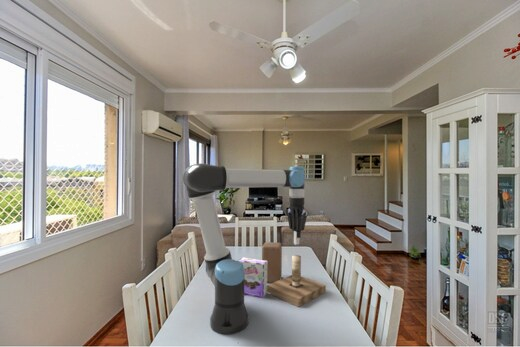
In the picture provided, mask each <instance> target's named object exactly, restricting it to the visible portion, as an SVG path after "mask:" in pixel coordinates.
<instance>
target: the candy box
mask: <svg viewBox="0 0 520 347" xmlns="http://www.w3.org/2000/svg"><path fill="white" fill-rule="evenodd" d="M238 261H239V262H241V263H242V264H243V266H244V271H245V279H244V295H245V296H250V297H251V296H252V297H257V298H262V299H264V298H265V297H266V295H268V292H267V285H268V282H267V263H268V261H264V260H262V259H255V258H250V257H249V258H248V257H244V256H243V257H241V258H240V259H239V260H238Z"/></svg>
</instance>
